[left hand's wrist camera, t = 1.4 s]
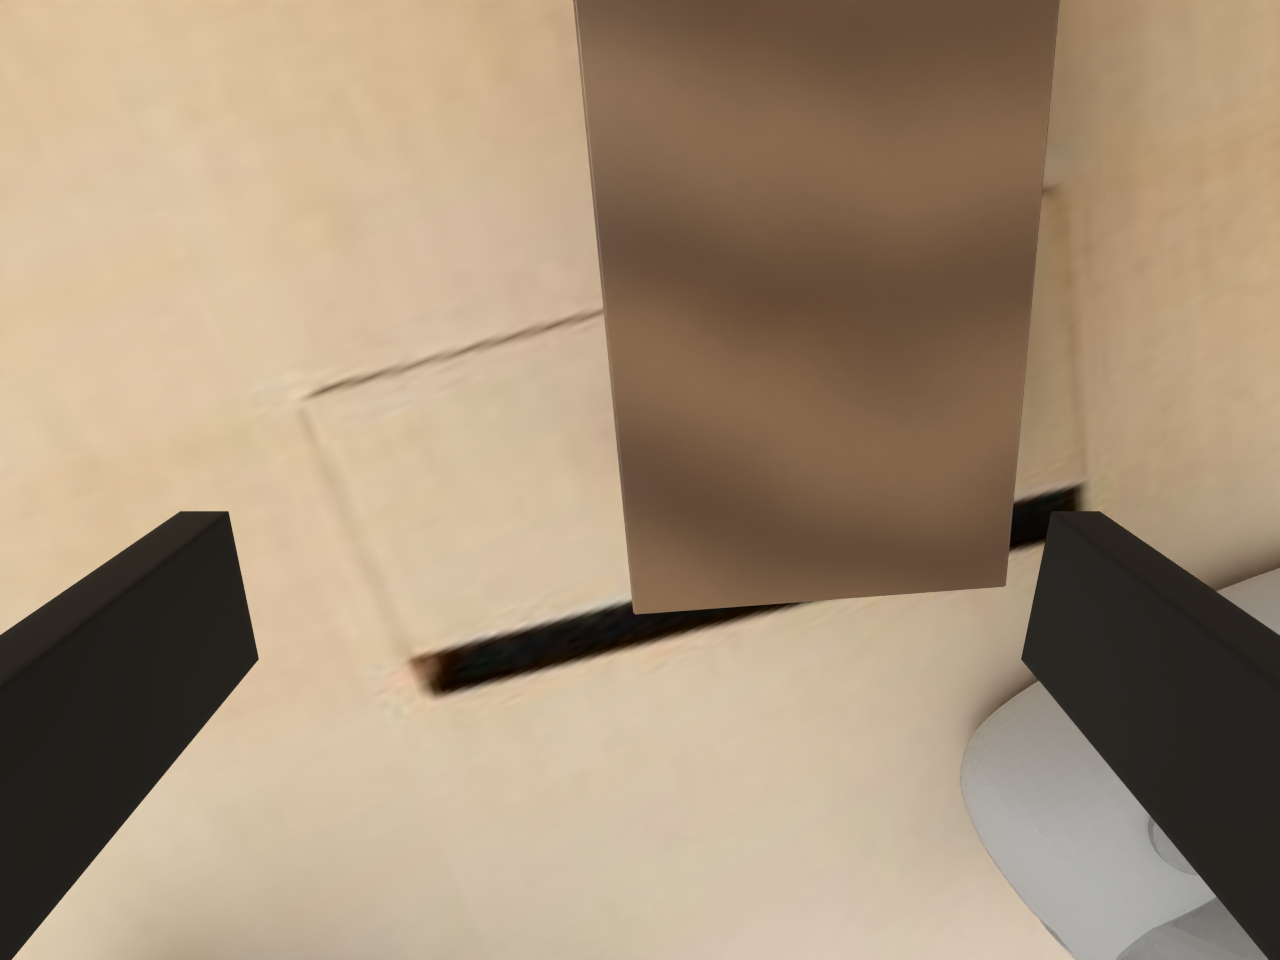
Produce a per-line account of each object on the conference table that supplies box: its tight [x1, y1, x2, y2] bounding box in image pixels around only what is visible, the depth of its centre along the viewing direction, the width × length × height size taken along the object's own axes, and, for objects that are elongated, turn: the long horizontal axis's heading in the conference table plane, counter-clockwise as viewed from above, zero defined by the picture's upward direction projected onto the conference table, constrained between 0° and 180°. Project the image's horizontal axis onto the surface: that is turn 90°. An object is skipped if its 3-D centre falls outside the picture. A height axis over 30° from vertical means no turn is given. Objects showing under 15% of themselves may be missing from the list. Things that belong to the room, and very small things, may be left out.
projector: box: [960, 568, 1280, 960], centre depth 31 cm, size 22×23×15 cm
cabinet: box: [573, 0, 1059, 614], centre depth 25 cm, size 20×11×12 cm, turn 5°
